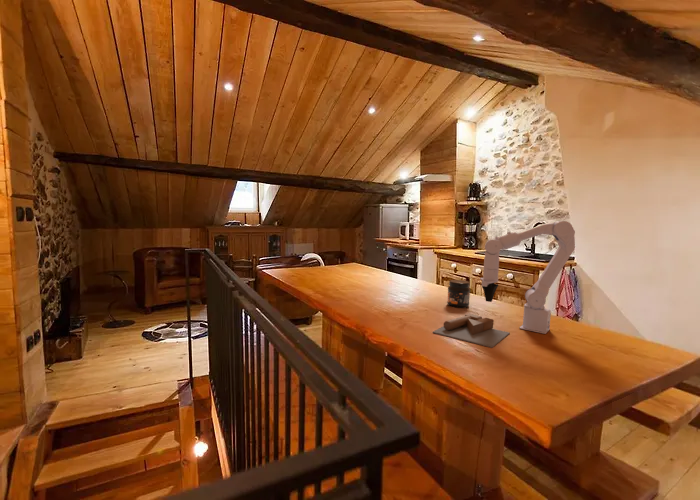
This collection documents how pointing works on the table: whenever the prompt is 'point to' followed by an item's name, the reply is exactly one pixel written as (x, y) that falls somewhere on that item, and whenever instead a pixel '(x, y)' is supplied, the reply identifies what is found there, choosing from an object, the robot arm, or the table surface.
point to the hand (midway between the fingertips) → (488, 301)
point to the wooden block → (470, 323)
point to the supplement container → (458, 293)
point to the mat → (482, 338)
